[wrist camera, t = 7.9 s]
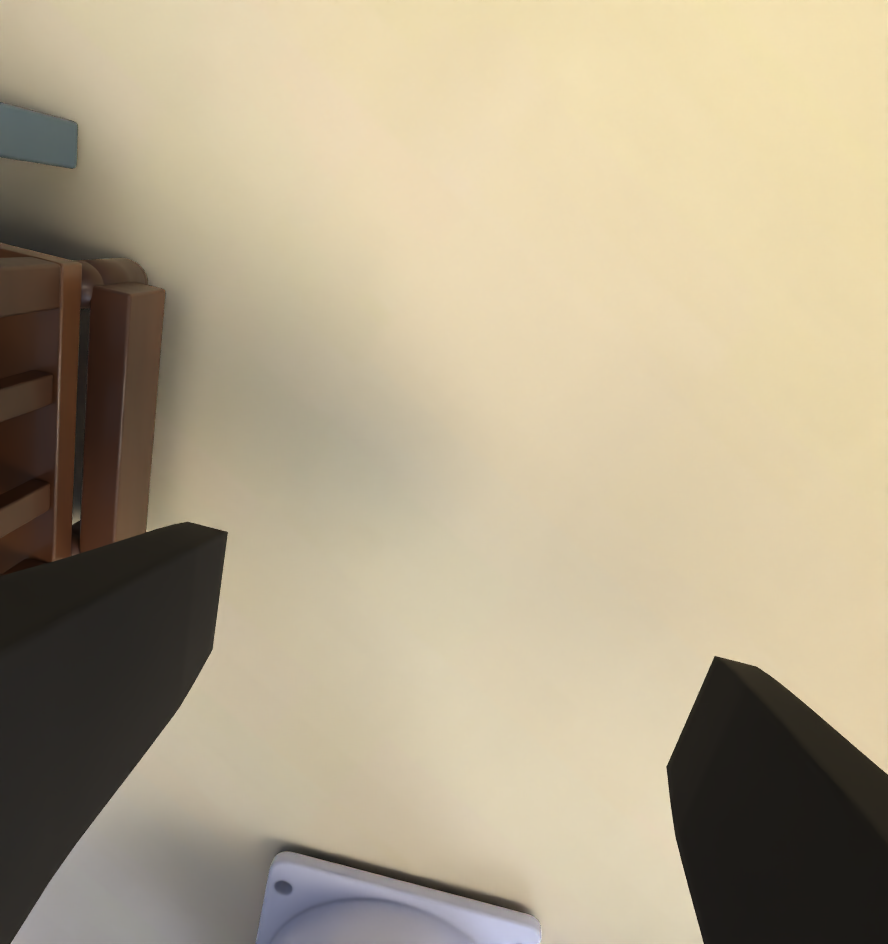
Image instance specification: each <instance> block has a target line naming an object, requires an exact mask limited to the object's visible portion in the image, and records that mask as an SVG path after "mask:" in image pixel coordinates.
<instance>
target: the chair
mask: <svg viewBox="0 0 888 944" xmlns="http://www.w3.org/2000/svg"><path fill="white" fill-rule="evenodd" d="M164 304H165V290H164V289H162V288H158V287H154V286H150V285H148V279H147V275H146V273H145V271H144V269H143V268H142V267H141V266H140V265H139V264H138V263H136V262H134V261H133V260H130V259H126V258H109V259H89V260H74V261H72V260H68V259H64V258H60V257H56V256H52V255H48V254H44V253H40V252H36V251H32V250H28V249H24V248H20V247H16V246H12V245H8V244H4V243H0V576H2V575H6V574H9V573H13V572H17V571H20V570H24V569H28V568H31V567H35V566H39V565H42V564H46V563H50V562H53V561H57V560H60V559H63V558H67V557H70V556H73V555H76V554H79V553H83V552H86V551H89V550H92V549H95V548H99V547H102V546H105V545H108V544H111V543H114V542H118V541H121V540H124V539H127V538H130V537H133V536H137V535H140V534H143V533H146V524H147V512H148V500H149V488H150V475H151V463H152V451H153V439H154V426H155V414H156V402H157V390H158V377H159V365H160V353H161V341H162V328H163V316H164ZM80 309H90V315H89V338H88V361H87V384H86V406H85V429H84V452H83V475H82V498H81V520H80V521H78V522H76V523H75V524H73V525H72V509H73V484H74V458H75V433H76V407H77V381H78V356H79V330H80Z"/></svg>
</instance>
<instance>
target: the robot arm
mask: <svg viewBox="0 0 888 944" xmlns="http://www.w3.org/2000/svg"><path fill="white" fill-rule="evenodd" d="M227 534H228V532H226V531H222V530H218V529H214V528H210V527H206V526H202V525H198V524H194V523H190V522H184V523H179V524H174V525H170V526H167V527H163V528H159V529H156V530H153V531H149V532H146V533H143V534H140V535H137V536H133V537H130V538H127V539H124V540H121V541H118V542H114V543H111V544H108V545H105V546H102V547H99V548H95V549H92V550H89V551H86V552H83V553H79V554H76V555H73V556H70V557H67V558H63V559H60V560H57V561H53V562H50V563H46V564H42V565H39V566H35V567H31V568H28V569H24V570H20V571H17V572H13V573H9V574H6V575H2V576H0V944H11V942H12V940H13V939H14V937H15V936H16V934H17V932H18V931H19V929H20V928H21V926H22V924H23V923H24V921H25V920H26V918H27V917H28V915H29V913H30V912H31V910H32V909H33V907H34V905H35V904H36V902H37V901H38V899H39V897H40V896H41V894H42V893H43V891H44V889H45V888H46V886H47V885H48V883H49V882H50V880H51V879H52V877H53V876H54V874H55V873H56V872H57V870H58V869H59V867H60V866H61V864H62V863H63V862H64V860H65V859H66V857H67V856H68V854H69V853H70V852H71V850H72V849H73V847H74V846H75V845H76V843H77V842H78V841H79V839H80V838H81V837H82V835H83V834H84V833H85V831H86V830H87V829H88V828H89V826H90V825H91V824H92V822H93V821H94V820H95V818H96V817H97V816H98V814H99V813H100V812H101V811H102V809H103V808H104V807H105V805H106V804H107V803H108V801H109V800H110V799H111V797H112V796H113V795H114V794H115V792H116V791H117V790H118V788H119V787H120V786H121V784H122V783H123V782H124V780H125V779H126V778H127V777H128V775H129V774H130V773H131V771H132V770H133V769H134V767H135V766H136V765H137V763H138V762H139V761H140V760H141V758H142V757H143V756H144V754H145V753H146V752H147V750H148V749H149V748H150V746H151V745H152V744H153V742H154V741H155V740H156V738H157V737H158V736H159V734H160V733H161V732H162V730H163V729H164V728H165V726H166V725H167V724H168V722H169V721H170V720H171V718H172V717H173V716H174V714H175V713H176V711H177V710H178V709H179V707H180V706H181V704H182V702H183V701H184V699H185V697H186V696H187V694H188V692H189V690H190V689H191V687H192V685H193V684H194V682H195V680H196V678H197V677H198V675H199V673H200V671H201V669H202V668H203V666H204V664H205V662H206V660H207V659H208V657H209V655H210V653H211V651H212V649H213V641H214V633H215V626H216V618H217V611H218V603H219V595H220V588H221V580H222V572H223V565H224V557H225V549H226V542H227ZM667 775H668V784H669V793H670V802H671V809H672V816H673V823H674V830H675V836H676V840H677V844H678V848H679V852H680V856H681V860H682V864H683V868H684V872H685V875H686V879H687V883H688V887H689V890H690V894H691V898H692V902H693V905H694V909H695V913H696V916H697V920H698V924H699V927H700V931H701V935H702V938H703V942H704V944H888V775H887V774H886V773H885V772H884V771H883V770H881V769H880V768H879V767H878V766H877V765H876V764H874V763H873V762H872V761H871V760H870V759H869V758H867V757H866V756H865V755H864V754H863V753H862V752H860V751H859V750H858V749H857V748H856V747H855V746H853V745H852V744H851V743H850V742H849V741H848V740H847V739H845V738H844V737H843V736H842V735H841V734H840V733H838V732H837V731H836V730H835V729H834V728H833V727H831V726H830V725H829V724H828V723H827V722H826V721H824V720H823V719H822V718H821V717H820V716H819V715H818V714H816V713H815V712H814V711H813V710H812V709H811V708H809V707H808V706H807V705H806V704H805V703H803V702H802V701H801V700H800V699H799V698H797V697H796V696H795V695H794V694H793V693H791V692H790V691H789V690H788V689H787V688H785V687H784V686H783V685H781V684H780V683H779V682H778V681H776V680H775V679H774V678H772V677H771V676H770V675H768V674H767V673H765V672H764V671H762V670H761V669H760V668H758V667H756V666H752V665H748V664H744V663H740V662H736V661H732V660H728V659H724V658H720V657H717V656H715V657H714V659H713V661H712V664H711V666H710V668H709V671H708V673H707V675H706V678H705V680H704V682H703V684H702V687H701V689H700V691H699V694H698V696H697V698H696V701H695V703H694V705H693V707H692V710H691V712H690V714H689V717H688V719H687V721H686V724H685V726H684V728H683V730H682V733H681V735H680V737H679V740H678V742H677V744H676V747H675V749H674V751H673V753H672V756H671V758H670V760H669V763H668V765H667ZM540 942H541V925H540V922H539V921H538V920H537V919H536V918H535V917H534V916H531V915H529V914H526V913H522V912H518V911H515V910H511V909H507V908H503V907H499V906H496V905H492V904H488V903H484V902H480V901H477V900H473V899H469V898H465V897H462V896H458V895H454V894H450V893H446V892H443V891H439V890H435V889H431V888H427V887H424V886H420V885H416V884H412V883H408V882H405V881H401V880H397V879H393V878H389V877H386V876H382V875H378V874H374V873H370V872H367V871H363V870H359V869H355V868H351V867H348V866H344V865H340V864H336V863H332V862H329V861H325V860H321V859H317V858H314V857H310V856H306V855H302V854H298V853H295V852H289V851H285V852H280V853H278V854H277V855H276V856H275V857H274V859H273V861H272V864H271V867H270V869H269V874H268V879H267V885H266V890H265V895H264V901H263V906H262V911H261V916H260V922H259V927H258V932H257V938H256V943H255V944H540Z"/></svg>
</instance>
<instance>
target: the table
mask: <svg viewBox="0 0 888 944" xmlns="http://www.w3.org/2000/svg"><path fill="white" fill-rule="evenodd" d="M77 136H78V125H77V123H75V122H74V121H71V120H67V119H63V118H60V117H56V116H52V115H48V114H44V113H41V112H37V111H33V110H29V109H26V108H22V107H18V106H14V105H10V104H7V103H3V102H0V157H1V158H8V159H14V160H20V161H27V162H33V163H39V164H46V165H52V166H59V167H65V168H71V169H73V168H76V165H77Z"/></svg>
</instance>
